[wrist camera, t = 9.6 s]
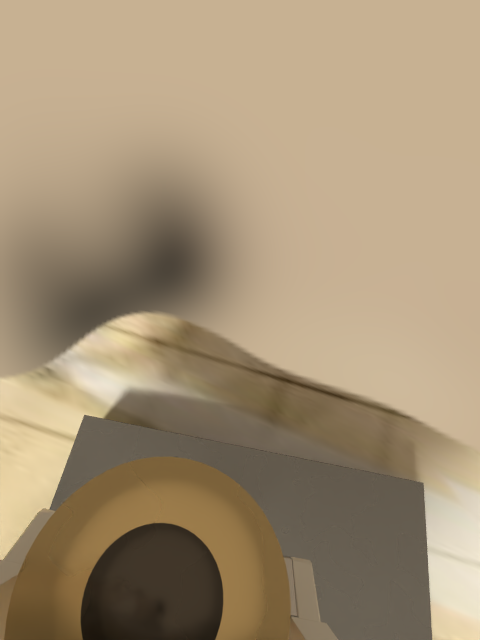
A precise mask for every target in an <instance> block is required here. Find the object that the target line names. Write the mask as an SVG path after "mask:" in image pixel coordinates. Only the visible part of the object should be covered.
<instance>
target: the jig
mask: <svg viewBox="0 0 480 640" xmlns="http://www.w3.org/2000/svg"><path fill="white" fill-rule="evenodd" d="M150 457H178V458H186V459H190V460H194V461H198V462H201V463H204V464H206V465H208V466H211V467H213V468H216V469H217V470H219V471H221V472H222V473H224V474H226V475H227V476H229V477H230V478H232V479H233V480H234V481H235V482H237V483H238V484H239V485H240V486H242V487H243V488H244V489H245V490H246V491H247V493H248V494H249V495H250V496H251V497H252V498H253V499H254V500H255V501H256V503H257V504H258V505H259V507H260V508H261V509H262V511H263V512H264V514H265V516H266V517H267V519H268V521H269V522H270V524H271V526H272V528H273V530H274V532H275V535H276V537H277V539H278V542H279V544H280V547H281V550H282V554H283V555H284V556H290V557H295V558H301V559H306V560H310V561H311V563H312V568H313V575H314V581H315V588H316V595H317V601H318V608H319V615H320V621H321V622H323V623H327V625H328V626H329V627H330V629H331V630H332V632H333V633H334V634H335V636H336V637H337V639H338V640H432V629H431V611H430V592H429V574H428V556H427V538H426V520H425V502H424V483H421V482H416V481H411V480H406V479H401V478H396V477H391V476H386V475H381V474H376V473H372V472H367V471H362V470H357V469H352V468H347V467H342V466H337V465H332V464H327V463H322V462H317V461H312V460H307V459H302V458H297V457H292V456H287V455H282V454H277V453H272V452H267V451H262V450H257V449H252V448H247V447H242V446H237V445H232V444H227V443H222V442H217V441H212V440H207V439H202V438H197V437H192V436H187V435H182V434H177V433H172V432H167V431H162V430H157V429H152V428H147V427H142V426H137V425H132V424H127V423H122V422H117V421H112V420H107V419H102V418H97V417H92V416H87V415H84V418H83V420H82V423H81V426H80V428H79V431H78V434H77V437H76V439H75V442H74V445H73V447H72V450H71V453H70V455H69V458H68V461H67V463H66V466H65V469H64V472H63V474H62V477H61V480H60V482H59V485H58V488H57V490H56V493H55V496H54V498H53V501H52V504H51V507H50V509H49V510H53V511H56V510H57V509H58V508H59V507H60V506H61V505H62V503H63V502H65V501H66V500H67V499H68V498H69V497H70V496H71V495H72V494H73V493H74V492H75V491H77V490H78V489H79V488H80V487H82V486H83V485H85V484H86V483H87V482H89V481H90V480H91V479H93V478H95V477H97V476H98V475H100V474H102V473H104V472H105V471H107V470H109V469H112V468H114V467H116V466H119V465H121V464H124V463H127V462H131V461H134V460H138V459H144V458H150Z"/></svg>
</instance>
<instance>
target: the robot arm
mask: <svg viewBox="0 0 480 640" xmlns="http://www.w3.org/2000/svg"><path fill="white" fill-rule="evenodd" d="M54 513H55V511H53V510H49V509H42V510H41V511H40V512H38V513H37V515H36V516H35V517H34V519H33V520H32V521H31V523H30V524H29V525H28V527H27V528H26V529H25V531H24V532H23V533H22V535H21V536H20V538H19V539H18V540H17V542H16V543H15V544H14V546H13V547H12V548H11V550H10V551H9V552H8V554H7V555H6V556H5V558H4V559H3V560H0V640H4V638H5V628H6V618H7V614H8V609H9V604H10V599H11V595H12V592H13V589H14V585H15V582H16V579H17V576H18V573H19V571H20V569H21V566H22V564H23V562H24V560H25V557H26V555H27V553H28V551H29V549H30V548H31V546H32V544H33V542H34V541H35V539H36V537H37V535H38V534H39V532H40V531H41V530H42V528H43V527H44V525H45V524H46V523H47V521H48V520H49V518H50V517H51V516H52V515H53V514H54ZM283 557H284V560H285V564H286V569H287V574H288V580H289V587H290V601H291V615H290V632H289V639H288V640H338V639H337V637H336V636H335V634H334V633H333V632H332V630H331V629H330V627H329V626H328V625H327V623H323V622H321V621H320V615H319V608H318V601H317V595H316V588H315V581H314V575H313V568H312V563H311V561H310V560H306V559H301V558H295V557H290V556H284V555H283Z"/></svg>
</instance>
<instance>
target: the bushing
mask: <svg viewBox="0 0 480 640" xmlns="http://www.w3.org/2000/svg"><path fill="white" fill-rule="evenodd" d="M290 615H291V601H290V587H289V580H288V574H287V569H286V564H285V560H284V557H283V554H282V550H281V547H280V544H279V542H278V539H277V537H276V535H275V532H274V530H273V528H272V526H271V524H270V522H269V521H268V519H267V517H266V516H265V514H264V512H263V511H262V509H261V508H260V507H259V505H258V504H257V503H256V501H255V500H254V499H253V498H252V497H251V496H250V495H249V494H248V493H247V491H246V490H245V489H244V488H243V487H242V486H240V485H239V484H238V483H237V482H235V481H234V480H233V479H232V478H230V477H229V476H227V475H226V474H224V473H222V472H221V471H219V470H217V469H216V468H213V467H211V466H208V465H206V464H204V463H201V462H198V461H194V460H190V459H186V458H178V457H150V458H144V459H138V460H134V461H131V462H127V463H124V464H121V465H119V466H116V467H114V468H112V469H109V470H107V471H105V472H104V473H102V474H100V475H98V476H97V477H95V478H93V479H91V480H90V481H89V482H87V483H86V484H85V485H83V486H82V487H80V488H79V489H78V490H77V491H75V492H74V493H73V494H72V495H71V496H70V497H69V498H68V499H67V500H66V501H65V502H63V503H62V505H61V506H60V507H59V508H58V509H57V510H56V511H55V513H54V514H53V515H52V516H51V517H50V518H49V520H48V521H47V523H46V524H45V525H44V527H43V528H42V530H41V531H40V532H39V534H38V535H37V537H36V539H35V541H34V542H33V544H32V546H31V548H30V549H29V551H28V553H27V555H26V557H25V560H24V562H23V564H22V566H21V569H20V571H19V573H18V576H17V579H16V582H15V585H14V589H13V592H12V595H11V599H10V604H9V609H8V614H7V618H6V628H5V638H4V640H288V639H289V632H290Z"/></svg>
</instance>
